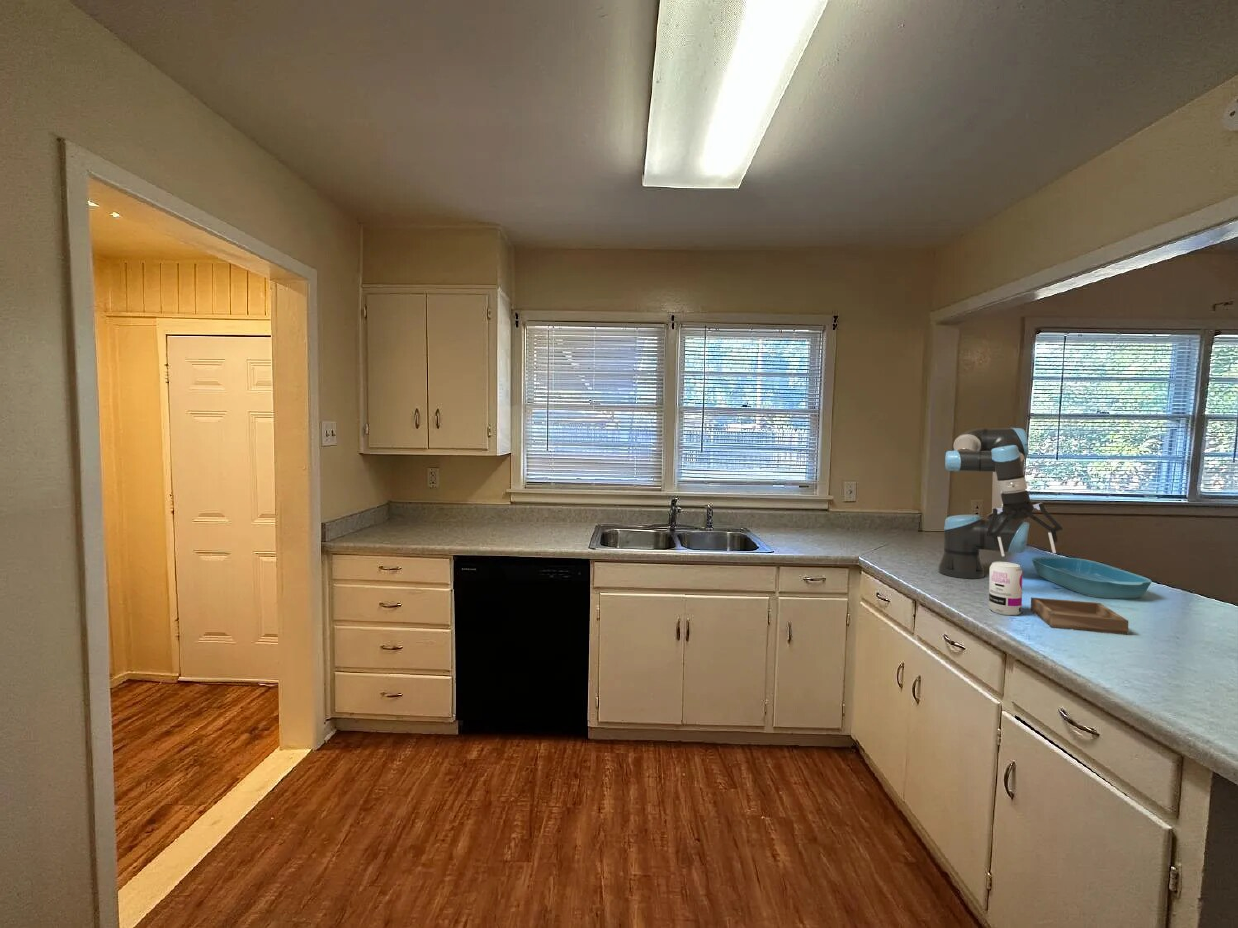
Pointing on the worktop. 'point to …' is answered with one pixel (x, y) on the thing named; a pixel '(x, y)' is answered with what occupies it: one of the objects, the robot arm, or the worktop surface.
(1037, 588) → the worktop surface
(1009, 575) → the supplement can
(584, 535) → the worktop surface
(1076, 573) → the casserole dish
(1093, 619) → the walnut tray
